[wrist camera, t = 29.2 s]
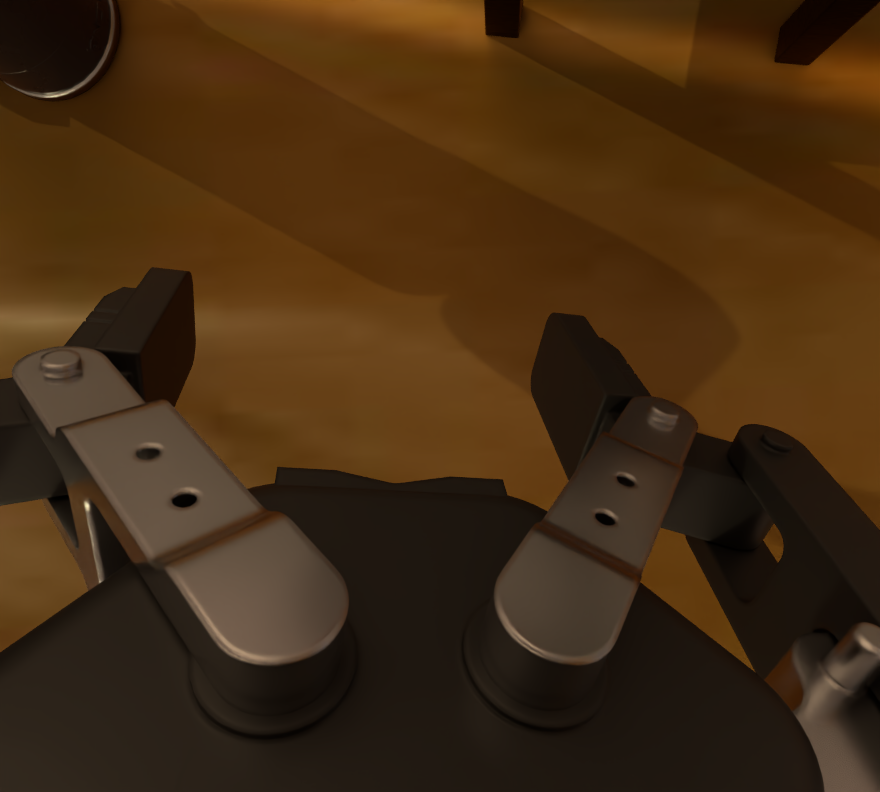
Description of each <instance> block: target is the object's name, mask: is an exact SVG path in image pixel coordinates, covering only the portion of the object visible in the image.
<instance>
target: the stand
mask: <svg viewBox="0 0 880 792" xmlns="http://www.w3.org/2000/svg"><path fill="white" fill-rule="evenodd" d="M879 2H880V0H805V1H804V2H803V3H802V4H801V5H800V6H799V7H798V9H797V10H796V11H795V12H794V13H793V14H792V15H791V16H790V18H789V19H788V20H787V21H786V22H785V23H784V24H783V25H782V26H781V28H780V33H779V38H778V44H777V49H776V55H775V60H774V62H777V63H787V64H798V65H810V64H811V63H812V62H813V61H814V60H815V59H816V58H818V57H819V56H820V55H821V54H822V53H823V52H824V51H825V50H827V49H828V48H829V47H830V46H831V45H832V44H833V43H834V42H836V41H837V40H838V39H839V38H840V37H841V36H842V35H843V34H845V33H846V32H847V31H848V30H849V29H850V28H851V27H852V26H854V25H855V24H856V23H857V22H858V21H859V20H860V19H861V18H863V17H864V16H865V15H866V14H867V13H868V12H869V11H870V10H872V9H873V8H874V7H875V6H876V5H877V4H878V3H879ZM484 8H485V30H486V35H491V36H502V37H512V38H518V36H519V29H520V22H521V15H522V8H523V0H484Z"/></svg>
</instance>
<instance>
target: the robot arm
mask: <svg viewBox="0 0 880 792" xmlns="http://www.w3.org/2000/svg"><path fill="white" fill-rule="evenodd" d="M119 33H120V18H119V11H118V6H117V2H116V0H0V80H2V81H3V82H5V83H6V84H7V85H9V86H10V87H12V88H14V89H16V90H18V91H20V92H22V93H23V94H25V95H27V96H30V97H32V98H36V99H39V100H45V101H60V100H66V99H70V98H73V97H75V96H78V95H80V94H82V93H84V92H85V91H87V90H88V89H90V88H91V87H92V86H93V85H95V84H96V83H97V82H98V81H99V80H100V79H101V77H102V76H103V75H104V74H105V72H106V71H107V69H108V68H109V66H110V64H111V62H112V60H113V58H114V55H115V52H116V49H117V45H118V41H119ZM195 344H196V337H195V317H194V297H193V281H192V276H191V273H190V272H189V271H181V270H172V269H163V268H154V267H152V268H151V269H150V270H149V271H148V273H147V274H146V275H145V277H144V278H143V280H142V281H141V282H140V284H139V285H138V286H137V288H127V287H123V288H121V289H118V290H116V291H114V292H112V293H110V294H108V295H106V296H104V297H103V298H102V300H101V301H100V302H99V303H98V305H97V306H96V307H95V308H94V311H92V312H91V313H90V314H89V316H88V317H87V318H86V321H84V322H83V323H82V324H81V326H80V327H79V328H78V329H77V331H76V332H75V333H74V334H73V336H72V337H71V338H70V339H69V340H68V342H67V343H66V344H65V345H64V346H61V347H52V348H47V349H43V350H39V351H36V352H33V353H31V354H28V355H26V356H25V357H23V358H21V359H20V360H19V361H18V362H16V364H15V365H14V366H13V369H12V376H13V377H12V378H7V379H0V506H1V505H7V504H13V503H20V502H26V501H32V500H38V499H42V500H43V503H44V506H45V508H46V510H47V511H48V513H49V515H50V517H51V518H52V520H53V522H54V524H55V525H56V527H57V529H58V531H59V532H60V534H61V536H62V538H63V540H64V541H65V543H66V545H67V547H68V548H69V550H70V552H71V554H72V555H73V557H74V559H75V561H76V563H77V564H78V566H79V568H80V570H81V572H82V574H83V577H84V579H85V582H86V585H87V588H88V592H86V593H85V594H83V595H82V596H80V597H79V598H78V599H76V600H75V601H73V602H72V603H70V604H69V605H68V606H66V607H65V608H63V609H62V610H60V611H59V612H58V613H56V614H55V615H53V616H52V617H50V618H49V619H48V620H46V621H45V622H43V623H42V624H40V625H39V626H37V627H36V628H35V629H33V630H32V631H30V632H29V633H27V634H26V635H25V636H23V637H22V638H20V639H19V640H17V641H16V642H15V643H13V644H12V645H10V646H9V647H7V648H6V649H5V650H3V651H2V652H0V792H880V530H879V529H878V528H877V527H876V526H875V524H874V523H873V522H872V521H871V520H870V519H869V518H868V517H867V515H866V514H865V513H864V512H863V511H862V510H861V509H860V508H859V506H858V505H857V504H856V503H855V502H854V501H853V500H852V499H851V497H850V496H849V495H848V494H847V493H846V492H845V491H844V490H843V488H842V487H841V486H840V485H839V484H838V483H837V482H836V481H835V480H834V478H833V477H832V476H831V475H830V474H829V473H828V472H827V471H826V469H825V468H824V467H823V466H822V465H821V464H820V463H819V462H818V460H817V459H816V458H815V457H814V456H813V455H812V454H811V453H810V451H809V450H808V449H807V448H806V447H805V446H804V445H803V444H801V443H800V442H799V441H798V440H796V439H795V438H793V437H791V436H790V435H788V434H786V433H784V432H782V431H779V430H777V429H774V428H771V427H768V426H764V425H758V424H748V425H744V426H742V427H741V428H740V429H739V431H738V433H737V435H736V437H735V439H734V441H733V442H729V441H726V440H722V439H718V438H714V437H711V436H707V435H703V434H700V433H697V430H698V424H697V421H696V420H695V418H694V417H693V416H692V415H691V414H690V413H689V412H688V411H687V410H685V409H684V408H682V407H681V406H679V405H677V404H675V403H673V402H671V401H668V400H665V399H662V398H659V397H654V396H651V395H650V393H649V392H648V390H647V389H646V388H645V386H644V385H643V384H642V382H641V381H640V379H639V378H638V377H637V375H636V374H634V371H633V370H632V368H631V367H630V365H629V364H626V363H627V361H626V360H625V358H624V357H623V356H622V354H621V353H620V351H619V350H618V349H617V348H615V347H614V346H613V345H611V344H610V343H609V342H607V341H606V340H604V339H603V338H599V337H598V335H597V334H596V332H595V331H594V329H593V328H592V326H591V325H590V324H589V322H588V321H587V319H586V318H585V317H584V316H580V315H571V314H562V313H552V314H551V315H550V316H549V318H548V320H547V322H546V325H545V329H544V332H543V336H542V339H541V342H540V346H539V349H538V353H537V356H536V359H535V363H534V366H533V370H532V375H531V392H532V396H533V398H534V401H535V403H536V405H537V408H538V410H539V412H540V415H541V417H542V419H543V422H544V424H545V426H546V429H547V431H548V433H549V436H550V438H551V440H552V443H553V445H554V447H555V450H556V452H557V454H558V457H559V459H560V461H561V464H562V466H563V468H564V471H565V473H566V475H567V478H568V480H569V481H568V483H567V484H566V486H565V487H564V489H563V490H562V492H561V493H560V495H559V496H558V498H557V499H556V501H555V502H554V503H553V505H552V506H551V508H550V509H549V511H548V512H547V511H545V510H544V509H542V508H540V507H538V506H536V505H533V504H531V503H529V502H526V501H524V500H521V499H518V498H514V497H511V496H507V492H506V489H505V486H504V482H503V480H501V479H483V478H465V477H444V478H436V479H429V480H421V481H413V482H406V483H389V482H384V481H380V480H376V479H371V478H367V477H363V476H358V475H354V474H350V473H345V472H341V471H337V470H322V469H304V468H286V467H277V473H276V479H275V483H274V484H267V485H262V486H257V487H253V488H249V489H247V488H246V487H245V486H244V485H243V484H242V483H241V482H240V481H239V480H238V478H237V477H236V476H235V475H234V474H233V473H232V472H231V471H230V469H229V468H228V467H227V466H226V465H225V464H224V463H223V462H222V461H221V459H220V458H219V457H218V456H217V455H216V454H215V453H214V452H213V450H212V449H211V448H210V447H209V446H208V445H207V444H206V443H205V442H204V440H203V439H202V438H201V437H200V436H199V435H198V434H197V433H196V431H195V430H194V429H193V428H192V427H191V426H190V425H189V424H188V422H187V421H186V420H185V419H184V418H183V417H182V416H181V415H180V414H179V412H178V411H177V410H176V409H175V408H174V407H175V405H176V402H177V400H178V398H179V395H180V393H181V391H182V388H183V386H184V384H185V381H186V379H187V377H188V374H189V372H190V370H191V367H192V365H193V361H194V355H195ZM773 524H775V525H776V526H777V528H778V529H779V531H780V533H781V535H782V538H783V543H784V550H783V555H782V558H781V560H780V561H779V563H778V562H777V561H776V559H775V558H774V556H773V555H772V553H771V552H770V550H769V549H768V547H767V546H766V544H765V543H764V541H763V539H764V538H765V536H766V535H767V533H768V531H769V530H770V528H771V527H772V525H773ZM660 527H661V528H664V529H668V530H671V531H675V532H678V533H682V534H685V536H686V539H687V542H688V544H689V546H690V548H691V550H692V551H693V553H694V555H695V557H696V559H697V561H698V563H699V565H700V567H701V569H702V571H703V572H704V574H705V576H706V578H707V580H708V582H709V584H710V586H711V588H712V590H713V592H714V594H715V595H716V597H717V599H718V601H719V603H720V605H721V607H722V609H723V611H724V613H725V615H726V616H727V618H728V620H729V622H730V624H731V626H732V628H733V630H734V632H735V634H736V636H737V638H738V639H739V641H740V643H741V645H742V647H743V649H744V651H745V653H746V655H747V657H748V659H749V661H750V662H751V664H752V666H753V668H754V670H755V672H756V673H755V672H754V671H753V670H751V669H750V668H749V667H748V666H746V665H745V664H744V663H742V662H741V661H740V660H739V659H737V658H736V657H735V656H734V655H732V654H731V653H730V652H728V651H727V650H726V649H725V648H723V647H722V646H721V645H720V644H718V643H717V642H716V641H714V640H713V639H712V638H711V637H709V636H708V635H707V634H705V633H704V632H703V631H702V630H700V629H699V628H698V627H697V626H695V625H694V624H693V623H691V622H690V621H689V620H688V619H686V618H685V617H684V616H683V615H681V614H680V613H679V612H677V611H676V610H675V609H674V608H672V607H671V606H670V605H669V604H667V603H666V602H665V601H663V600H662V599H661V598H660V597H658V596H657V595H656V594H655V593H653V592H652V591H651V590H649V589H648V588H647V587H646V586H644V585H643V584H642V583H640V581H641V578H642V576H641V575H642V572H643V569H644V567H645V564H646V562H647V559H648V557H649V554H650V552H651V549H652V547H653V544H654V542H655V539H656V537H657V534H658V532H659V530H660Z"/></svg>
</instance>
